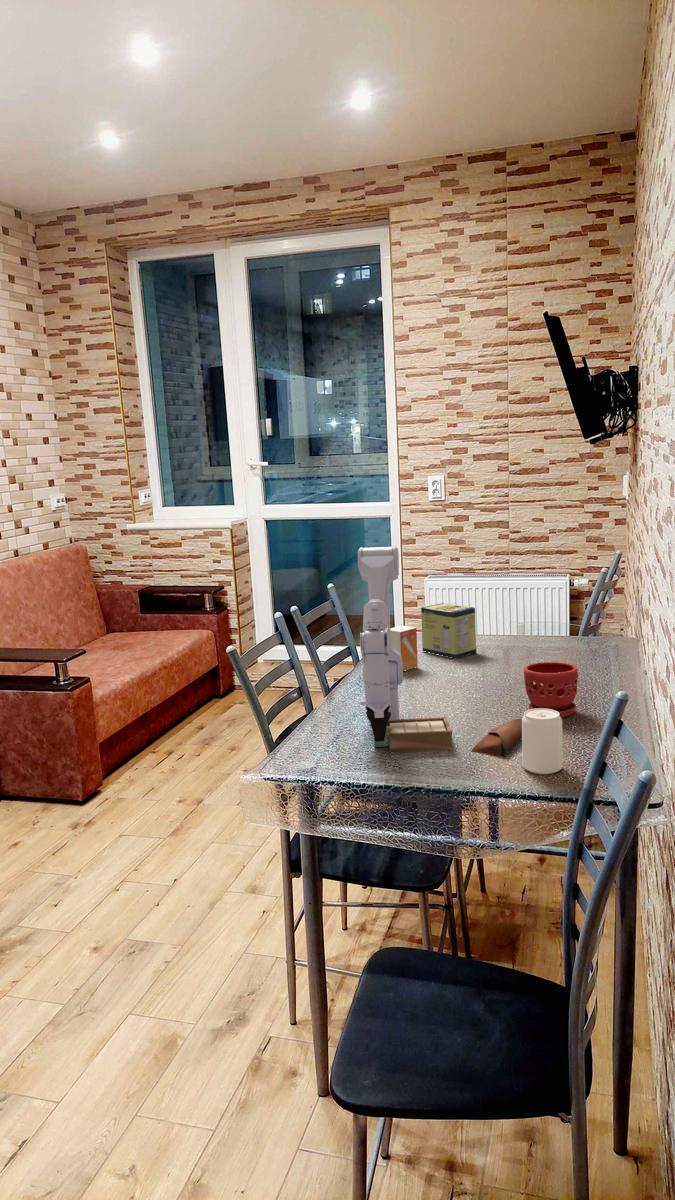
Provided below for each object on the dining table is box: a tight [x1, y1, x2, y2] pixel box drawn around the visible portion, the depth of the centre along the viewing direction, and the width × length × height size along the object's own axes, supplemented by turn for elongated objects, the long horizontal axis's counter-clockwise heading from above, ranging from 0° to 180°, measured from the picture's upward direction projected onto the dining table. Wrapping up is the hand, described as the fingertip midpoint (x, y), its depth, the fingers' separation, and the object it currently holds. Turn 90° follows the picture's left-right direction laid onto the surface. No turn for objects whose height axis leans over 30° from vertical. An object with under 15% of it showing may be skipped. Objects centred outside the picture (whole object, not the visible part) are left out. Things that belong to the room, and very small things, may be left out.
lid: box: [373, 721, 446, 748], centre depth 185 cm, size 8×16×5 cm, turn 90°
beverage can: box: [521, 708, 563, 775], centre depth 166 cm, size 8×8×12 cm
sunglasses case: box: [470, 717, 523, 758], centre depth 184 cm, size 18×7×7 cm, turn 150°
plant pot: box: [523, 661, 579, 718], centre depth 202 cm, size 13×13×12 cm
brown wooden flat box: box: [387, 716, 453, 754], centre depth 185 cm, size 10×14×4 cm
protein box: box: [420, 602, 477, 659], centre depth 268 cm, size 10×16×16 cm
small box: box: [388, 624, 419, 672], centre depth 250 cm, size 8×6×13 cm
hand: (379, 738), depth 185 cm, fingers closed on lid, 3 cm apart
